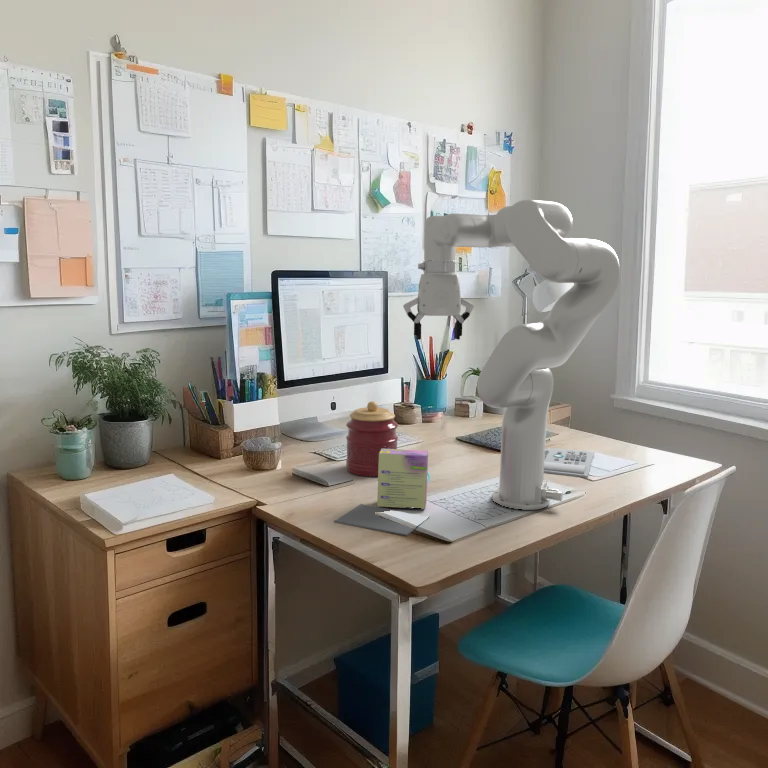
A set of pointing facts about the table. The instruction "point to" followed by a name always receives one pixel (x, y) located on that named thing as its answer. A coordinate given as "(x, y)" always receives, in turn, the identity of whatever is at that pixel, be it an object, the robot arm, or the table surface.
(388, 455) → the box
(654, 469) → the table surface
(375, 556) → the table surface
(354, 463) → the canister
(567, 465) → the office telephone
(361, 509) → the mat
